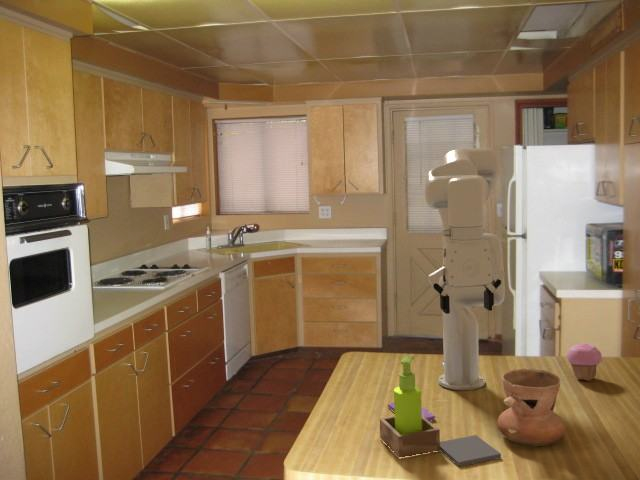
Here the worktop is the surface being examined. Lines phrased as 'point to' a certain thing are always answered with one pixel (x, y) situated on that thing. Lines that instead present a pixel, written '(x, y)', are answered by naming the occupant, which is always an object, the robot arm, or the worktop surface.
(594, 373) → the cupcake
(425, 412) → the sponges
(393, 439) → the holder
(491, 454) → the mat
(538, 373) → the ceramic jug
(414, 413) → the soap dispenser
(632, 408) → the worktop surface
